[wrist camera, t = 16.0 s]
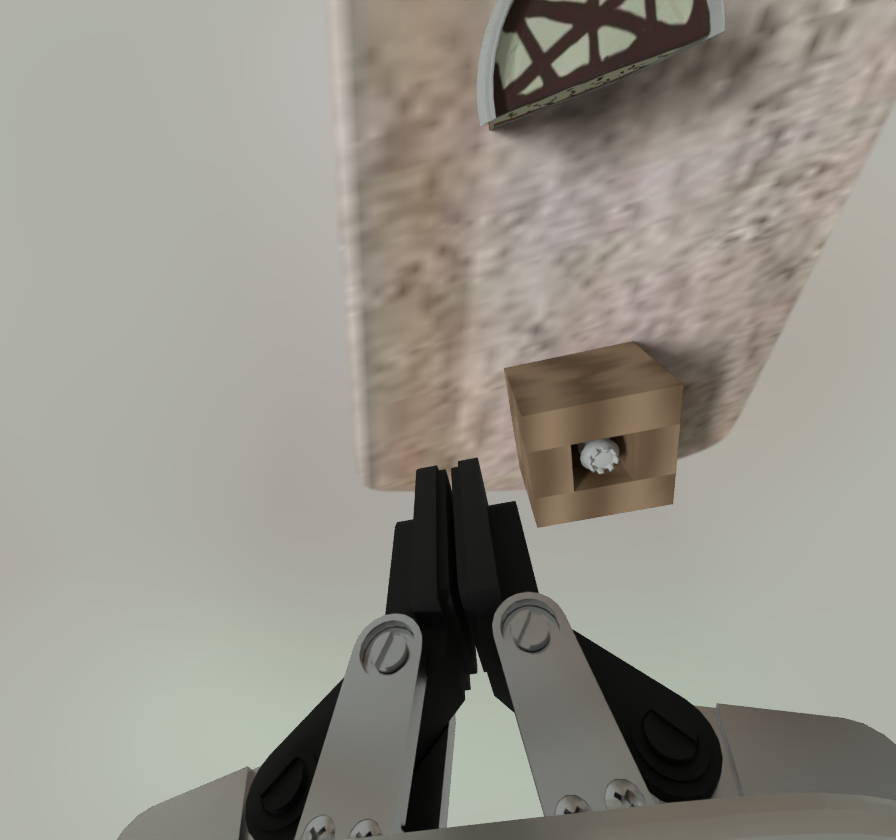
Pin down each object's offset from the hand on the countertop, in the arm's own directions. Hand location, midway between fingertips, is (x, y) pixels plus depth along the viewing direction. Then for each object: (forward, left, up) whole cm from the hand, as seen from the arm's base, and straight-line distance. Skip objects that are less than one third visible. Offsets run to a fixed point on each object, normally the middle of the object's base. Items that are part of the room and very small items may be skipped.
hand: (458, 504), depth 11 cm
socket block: (-10, +15, -27) cm, 33 cm away
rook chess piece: (-10, +15, -26) cm, 32 cm away
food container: (-10, -13, -27) cm, 32 cm away
